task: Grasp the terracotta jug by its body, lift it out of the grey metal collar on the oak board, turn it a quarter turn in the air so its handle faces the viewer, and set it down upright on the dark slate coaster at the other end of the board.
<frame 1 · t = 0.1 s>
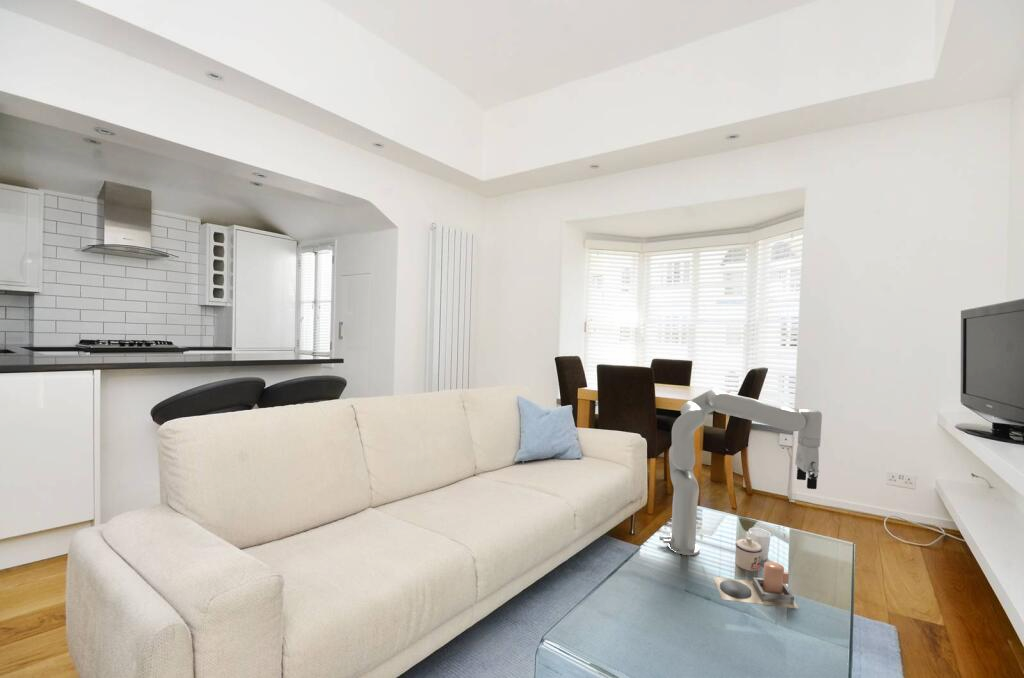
hand: (806, 484, 190), 31 cm above the table, fingers open, 9 cm apart
white cup: (758, 556, 196), on the table
board: (753, 595, 169), on the table
teacup with lid: (748, 566, 188), on the table
jug: (772, 593, 168), point 1 cm above the table, touching board
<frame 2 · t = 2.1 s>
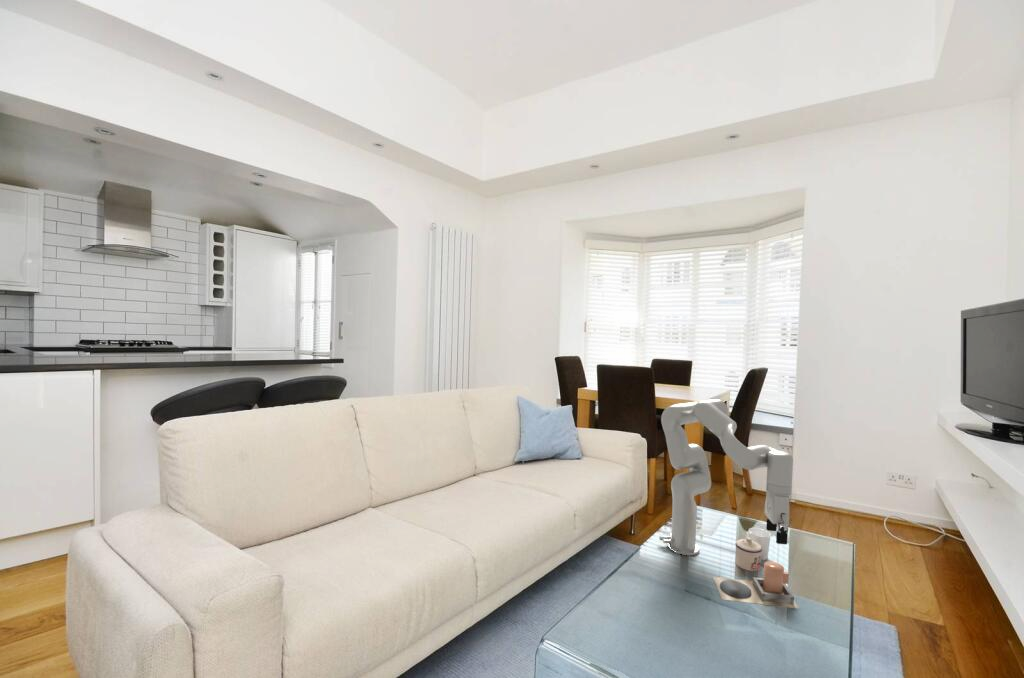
hand: (776, 536, 166), 22 cm above the table, fingers open, 9 cm apart
nothing on the table moved.
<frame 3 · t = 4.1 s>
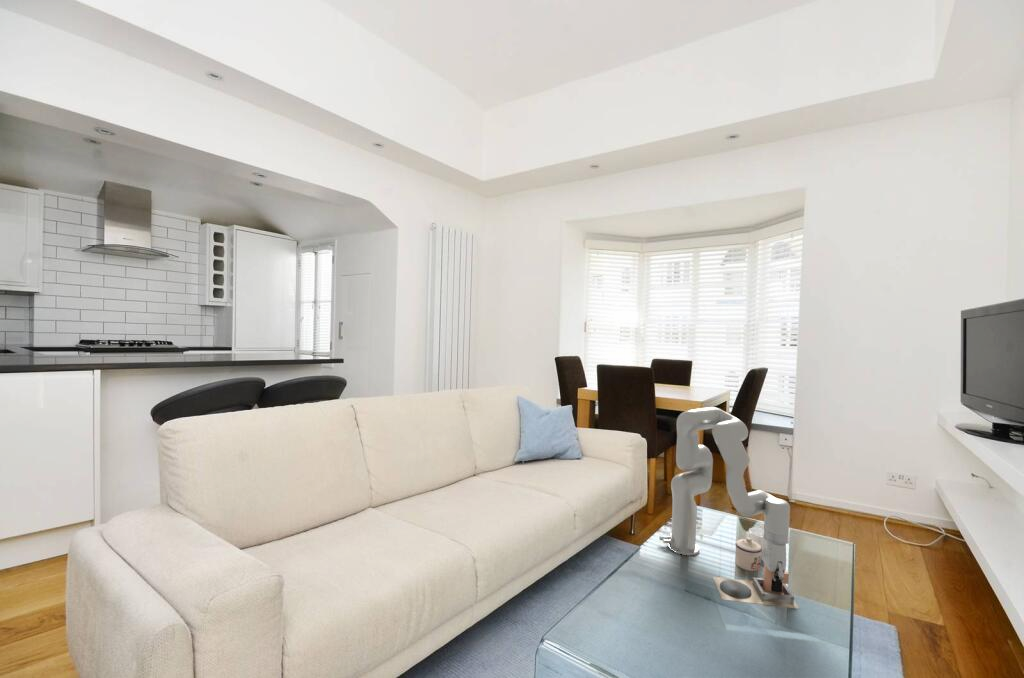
hand: (772, 585, 168), 4 cm above the table, fingers closed on jug, 6 cm apart
jug: (772, 593, 168), point 1 cm above the table, touching board, gripper
everything else where it was.
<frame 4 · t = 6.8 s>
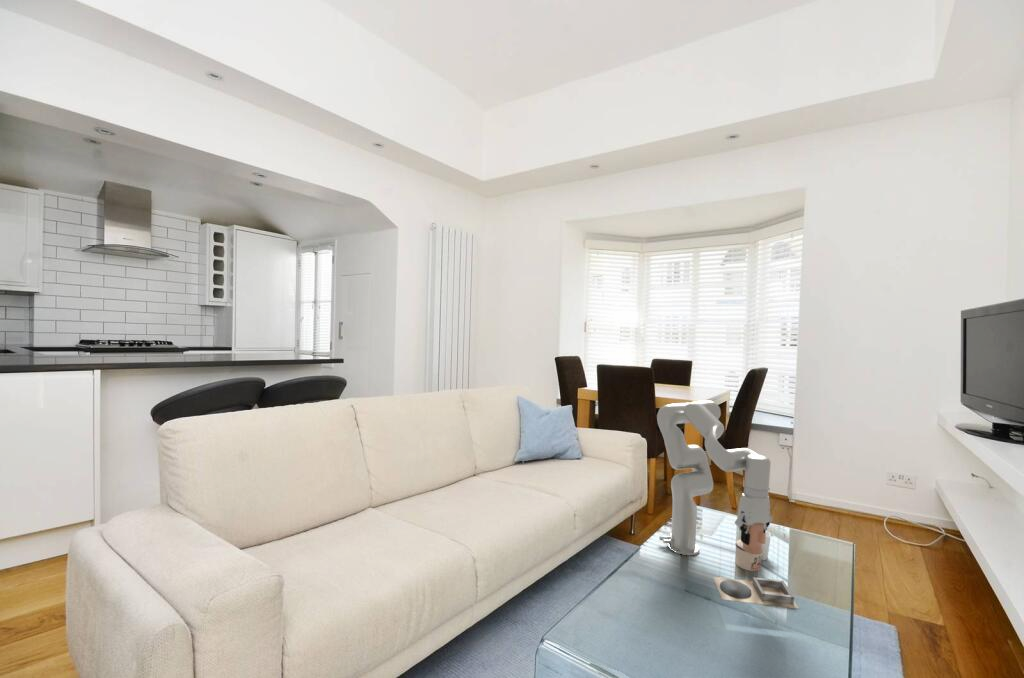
hand: (752, 541, 168), 19 cm above the table, fingers closed on jug, 6 cm apart
jug: (752, 549, 168), point 16 cm above the table, touching gripper
everything else where it was.
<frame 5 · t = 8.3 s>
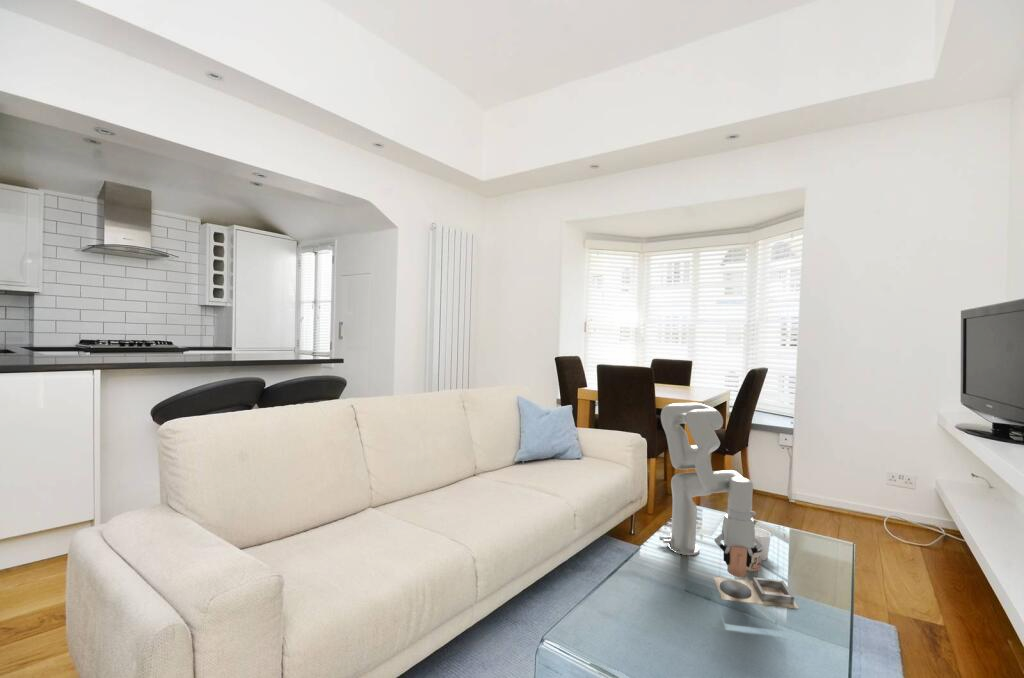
hand: (737, 563, 169), 11 cm above the table, fingers closed on jug, 6 cm apart
jug: (736, 572, 169), point 8 cm above the table, touching gripper
everything else where it was.
when the fingers open (6 cm above the table, at t = 9.4 s): jug drops 1 cm, resting on board.
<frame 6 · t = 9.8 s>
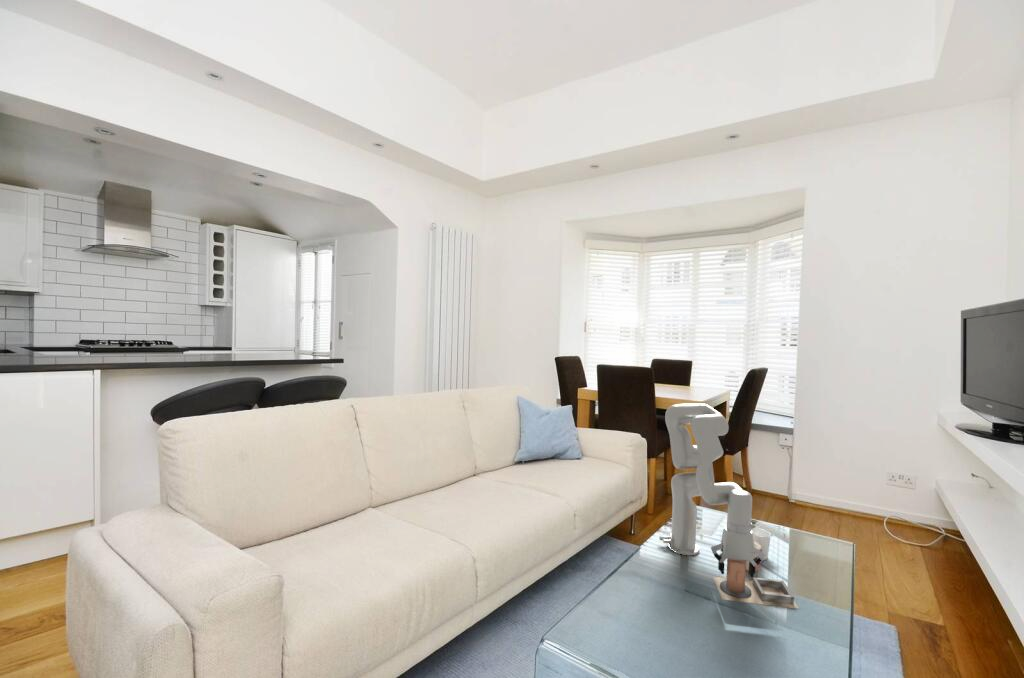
hand: (736, 573, 170), 7 cm above the table, fingers open, 9 cm apart
jug: (735, 588, 170), point 2 cm above the table, touching board
everything else where it was.
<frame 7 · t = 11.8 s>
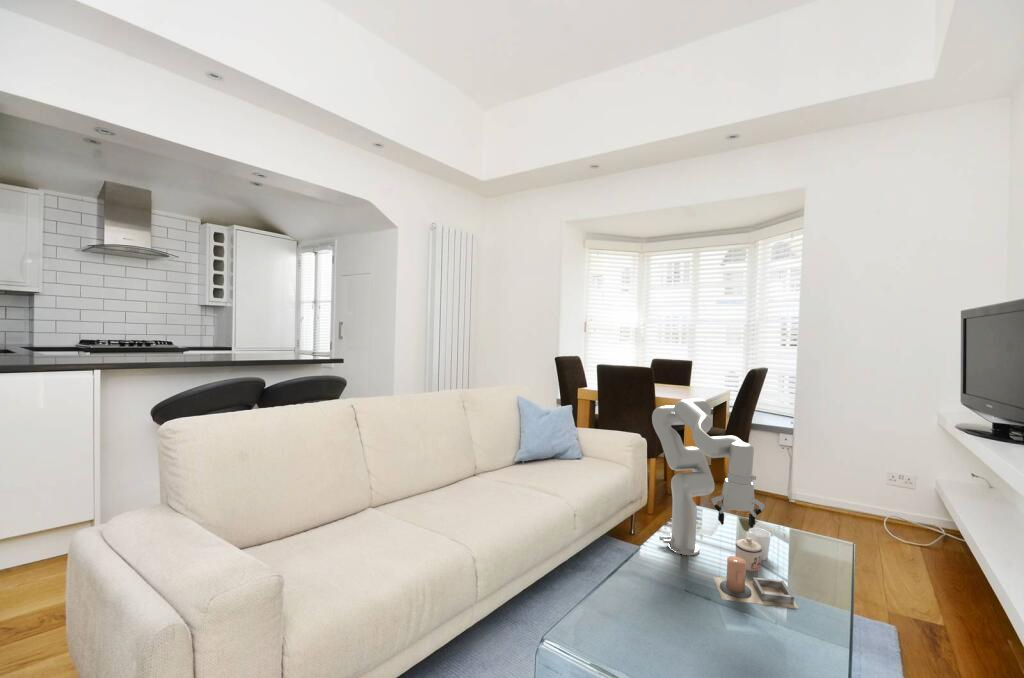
hand: (736, 524, 171), 23 cm above the table, fingers open, 9 cm apart
nothing on the table moved.
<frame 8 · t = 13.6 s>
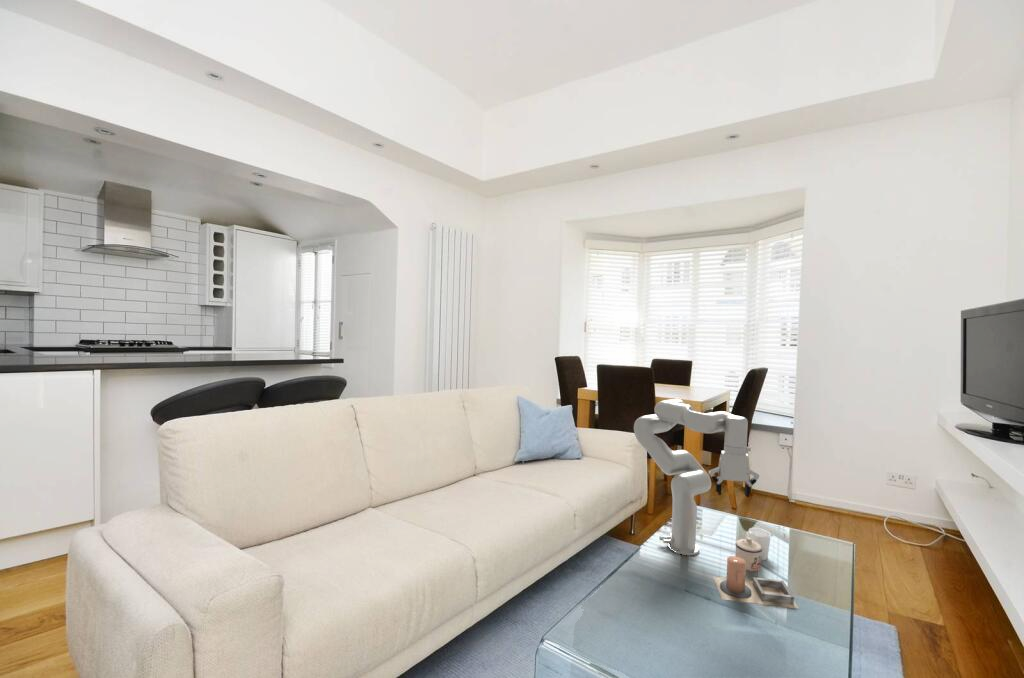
hand: (732, 494, 180), 30 cm above the table, fingers open, 9 cm apart
nothing on the table moved.
at the end: jug 0.1 cm from the target spot on the board, point 1.7 cm above the board's base; jug tilted 0°; the gripper is holding nothing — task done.
